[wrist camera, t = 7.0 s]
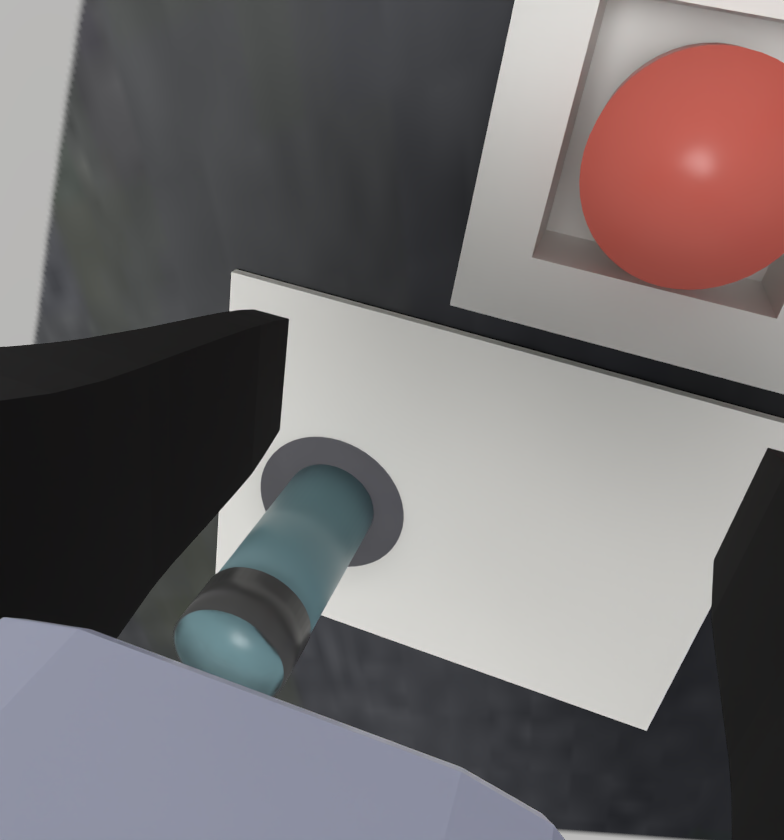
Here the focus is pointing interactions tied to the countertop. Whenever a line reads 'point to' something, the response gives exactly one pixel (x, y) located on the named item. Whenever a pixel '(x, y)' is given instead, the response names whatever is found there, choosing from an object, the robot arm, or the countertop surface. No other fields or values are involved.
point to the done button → (690, 168)
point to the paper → (507, 497)
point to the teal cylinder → (277, 582)
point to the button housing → (560, 193)
